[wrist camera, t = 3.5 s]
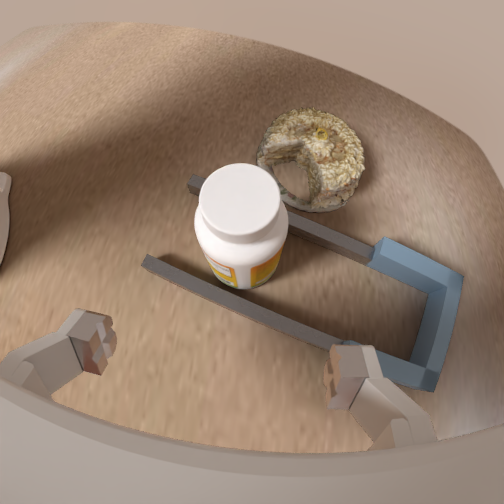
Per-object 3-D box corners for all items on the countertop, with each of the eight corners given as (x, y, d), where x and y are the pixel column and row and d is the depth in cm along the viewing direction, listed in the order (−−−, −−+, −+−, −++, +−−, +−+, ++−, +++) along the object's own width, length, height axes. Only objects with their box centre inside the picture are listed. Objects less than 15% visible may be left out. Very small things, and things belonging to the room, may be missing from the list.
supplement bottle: (277, 223, 25) (291, 151, 15) (280, 289, 23) (299, 248, 14) (210, 224, 25) (189, 152, 15) (208, 290, 23) (180, 250, 14)
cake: (291, 114, 29) (300, 75, 24) (374, 164, 28) (396, 129, 23) (232, 173, 26) (234, 130, 21) (331, 236, 24) (354, 203, 19)
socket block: (331, 359, 21) (342, 361, 18) (370, 249, 24) (384, 236, 21) (414, 389, 20) (433, 392, 17) (444, 284, 23) (463, 276, 20)
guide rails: (147, 270, 23) (141, 265, 22) (195, 183, 26) (193, 174, 24) (333, 353, 21) (339, 354, 20) (368, 254, 24) (375, 248, 22)
